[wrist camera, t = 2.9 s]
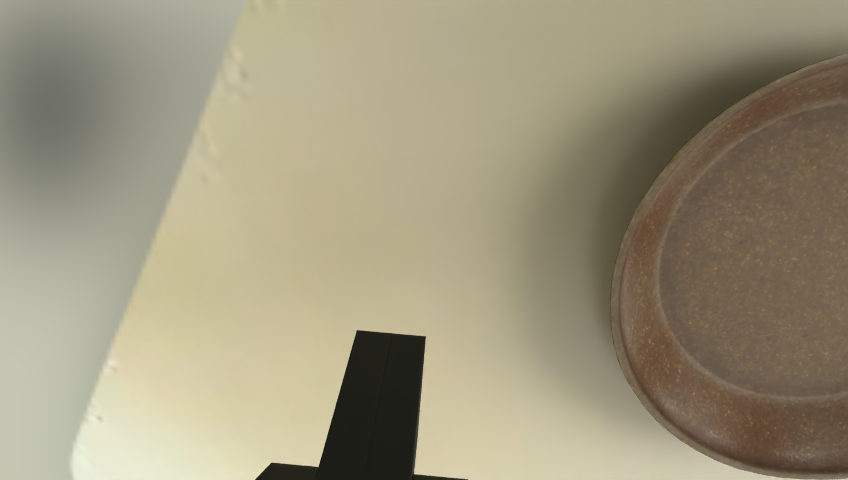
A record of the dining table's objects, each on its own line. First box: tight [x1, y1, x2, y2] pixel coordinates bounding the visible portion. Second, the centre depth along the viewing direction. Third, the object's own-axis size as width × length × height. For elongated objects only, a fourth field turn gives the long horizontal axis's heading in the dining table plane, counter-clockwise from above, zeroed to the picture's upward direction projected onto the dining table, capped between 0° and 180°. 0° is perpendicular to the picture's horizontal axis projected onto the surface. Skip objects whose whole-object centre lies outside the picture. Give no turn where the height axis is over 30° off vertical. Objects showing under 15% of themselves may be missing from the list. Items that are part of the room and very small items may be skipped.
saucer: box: [610, 53, 848, 480], centre depth 21 cm, size 15×15×3 cm
